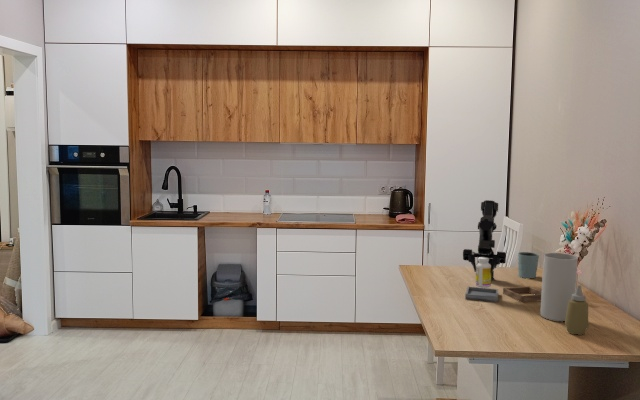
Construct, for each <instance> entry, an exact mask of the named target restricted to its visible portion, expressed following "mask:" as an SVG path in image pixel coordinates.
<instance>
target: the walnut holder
mask: <svg viewBox="0 0 640 400" xmlns="http://www.w3.org/2000/svg"><path fill="white" fill-rule="evenodd" d="M502 289H503V290H502V294H503V295H505V296H507V297H510V298H512V299H514V300H517V301H518V300H519V301H518V302H520V301H521V302H520V303H525V302H524V301H530V302H538V301H537V300H541V292H542V290H539V289H536V288H534V287H532V286H518V287H516V286H515V287H504V288H502ZM520 292H526V293H529V292H530V293H529V294H530V295H529V294H528V295H521V293H520ZM531 293H532V294H531ZM534 294H535V295H534Z"/></svg>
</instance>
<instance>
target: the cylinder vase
mask: <svg viewBox="0 0 640 400" xmlns="http://www.w3.org/2000/svg"><path fill="white" fill-rule="evenodd" d="M578 260H579V258H578V256H576V255H573V254H569V253H563V252H547V253H544V254H543V263H542V275H541V277H542V278H541V291H542V292H541V301H540V311H539V313H540V317H542V318H544V319H545V318H546V319H545V320H548V319H549V321H552V320H553V321H552V322H559V321H561V322H560V323H562V322H563V321H565V318H566V313H567V307H568V302H569V300H571V298H572V294H575V292H576V289H577V273H578Z"/></svg>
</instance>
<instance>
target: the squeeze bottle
mask: <svg viewBox="0 0 640 400" xmlns="http://www.w3.org/2000/svg"><path fill="white" fill-rule="evenodd" d="M588 304H589V303H588V302H587V301H586V295H584V294H583V291H582V285H580V284H578V285H576V292H575V294H572V298H571V300H569V302H568V307H567V313H566V318H565V322H564V325H565V327H566V332H567V331H568V332H569V333H568V334H570V333H572V334H571V335H574V334H578V335H577V336H583V335H582V334H584V335H585V334H586V331H587V330H588V327H589V325H590V324H589V323H590V322H589V305H588Z"/></svg>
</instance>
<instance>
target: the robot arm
mask: <svg viewBox="0 0 640 400" xmlns="http://www.w3.org/2000/svg"><path fill="white" fill-rule="evenodd" d="M480 212H481V213H482V217H480V220H479V222H478V223H477V230H478V231H479V232H478V233H479V239H478V246H477V252H475V251H473V249H469V248H463V250H462V259H463V260H464V261H468V262H469V263H471V266H472V268H473V271H474V272H475V273H476V264H477V263H476V258H478V257H487V258H489V261H488V263H489V264H490V265H491V281H492V280H495V277H494V275H495V274H494V272H495V271H494V270H495V269H496V268H497V266H498V265H500V264H506V262H507V253H506V252H505V251H496V253H495V252H494V250H493V249H494V248H495V245H496V240H495V239H493V233H494V231H496V229H497V224H496V222H495V218H496V216H497V212H498V213H499V203H498V202H495V200H492V199H491V200H487V199H486V200H484V201H481V202H480ZM492 248H493V249H492Z"/></svg>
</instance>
